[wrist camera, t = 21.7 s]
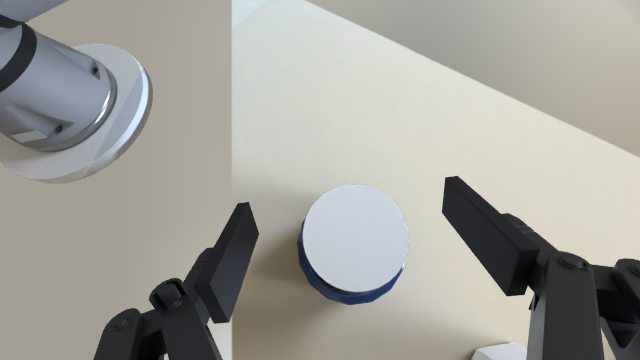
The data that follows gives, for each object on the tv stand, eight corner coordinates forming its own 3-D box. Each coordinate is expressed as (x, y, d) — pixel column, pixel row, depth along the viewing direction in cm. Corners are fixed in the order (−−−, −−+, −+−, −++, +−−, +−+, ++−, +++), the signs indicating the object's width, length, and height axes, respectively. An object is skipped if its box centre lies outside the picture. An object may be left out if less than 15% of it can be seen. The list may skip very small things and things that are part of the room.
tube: (377, 235, 24) (422, 205, 10) (362, 278, 23) (389, 312, 9) (337, 219, 25) (326, 170, 11) (321, 260, 24) (285, 264, 10)
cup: (299, 279, 24) (285, 286, 19) (319, 199, 27) (312, 184, 21) (383, 303, 23) (396, 318, 17) (397, 217, 25) (412, 205, 20)
